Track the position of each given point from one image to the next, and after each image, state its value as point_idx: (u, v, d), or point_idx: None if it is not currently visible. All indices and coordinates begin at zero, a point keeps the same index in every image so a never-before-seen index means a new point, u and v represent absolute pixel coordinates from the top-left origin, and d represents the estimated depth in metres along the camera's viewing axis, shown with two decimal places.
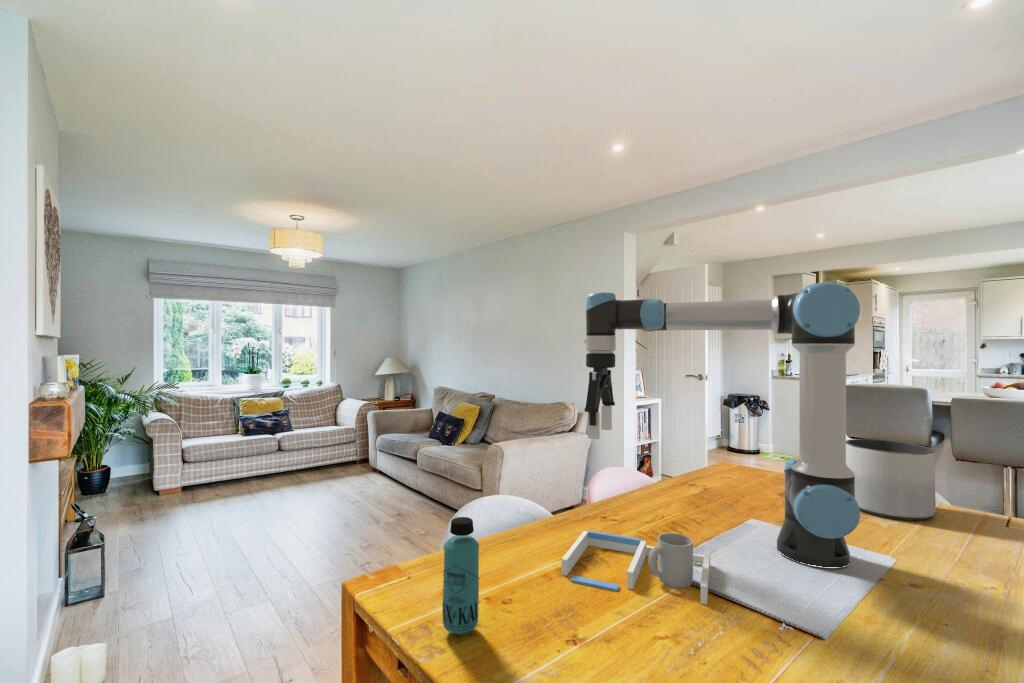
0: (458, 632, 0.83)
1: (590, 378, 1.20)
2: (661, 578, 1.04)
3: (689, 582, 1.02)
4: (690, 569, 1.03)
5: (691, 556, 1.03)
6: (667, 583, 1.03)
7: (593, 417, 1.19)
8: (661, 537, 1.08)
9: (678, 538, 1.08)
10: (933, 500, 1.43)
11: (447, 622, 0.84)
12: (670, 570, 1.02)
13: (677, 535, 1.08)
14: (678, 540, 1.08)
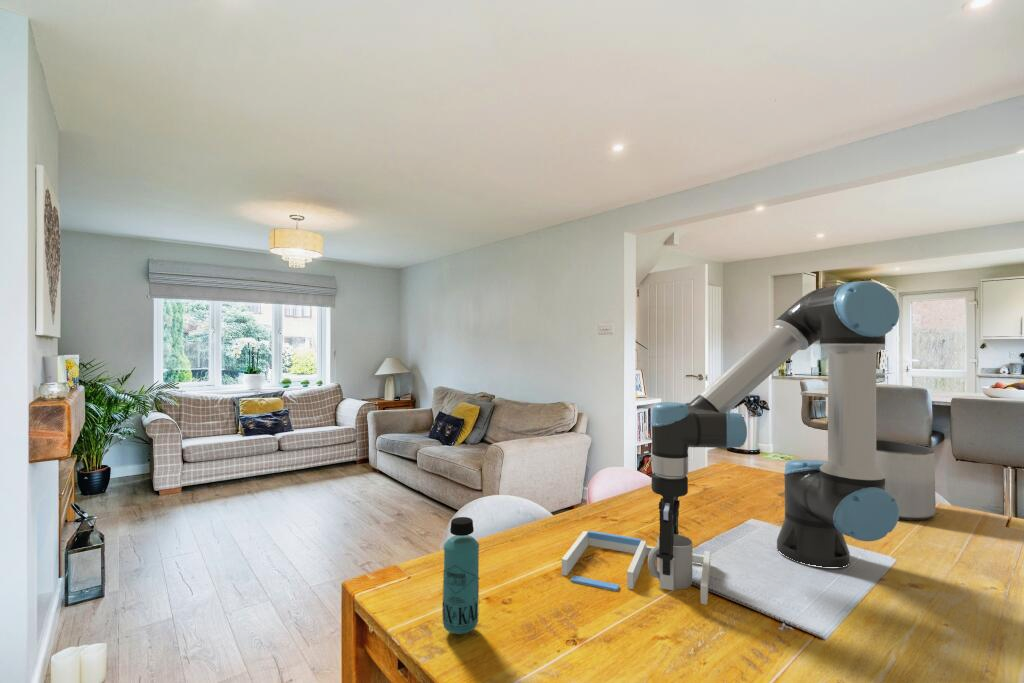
0: (458, 632, 0.83)
1: (661, 518, 1.00)
2: None
3: (689, 583, 1.02)
4: (690, 570, 1.02)
5: (691, 557, 1.03)
6: None
7: (667, 565, 1.00)
8: None
9: (678, 538, 1.08)
10: (933, 500, 1.43)
11: (447, 622, 0.84)
12: None
13: (676, 536, 1.08)
14: (677, 540, 1.08)
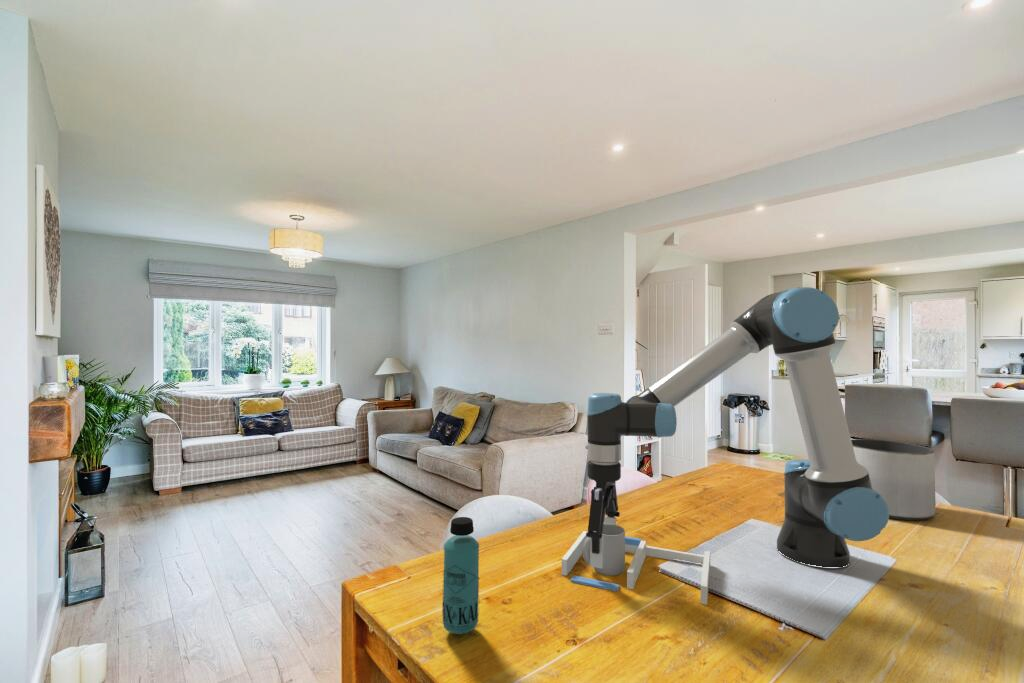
0: (458, 632, 0.83)
1: (592, 497, 1.05)
2: None
3: (620, 570, 1.08)
4: (621, 558, 1.08)
5: (622, 545, 1.08)
6: (599, 571, 1.08)
7: (596, 544, 1.03)
8: None
9: (614, 528, 1.14)
10: (933, 500, 1.43)
11: (447, 622, 0.84)
12: None
13: (612, 526, 1.14)
14: (613, 530, 1.14)
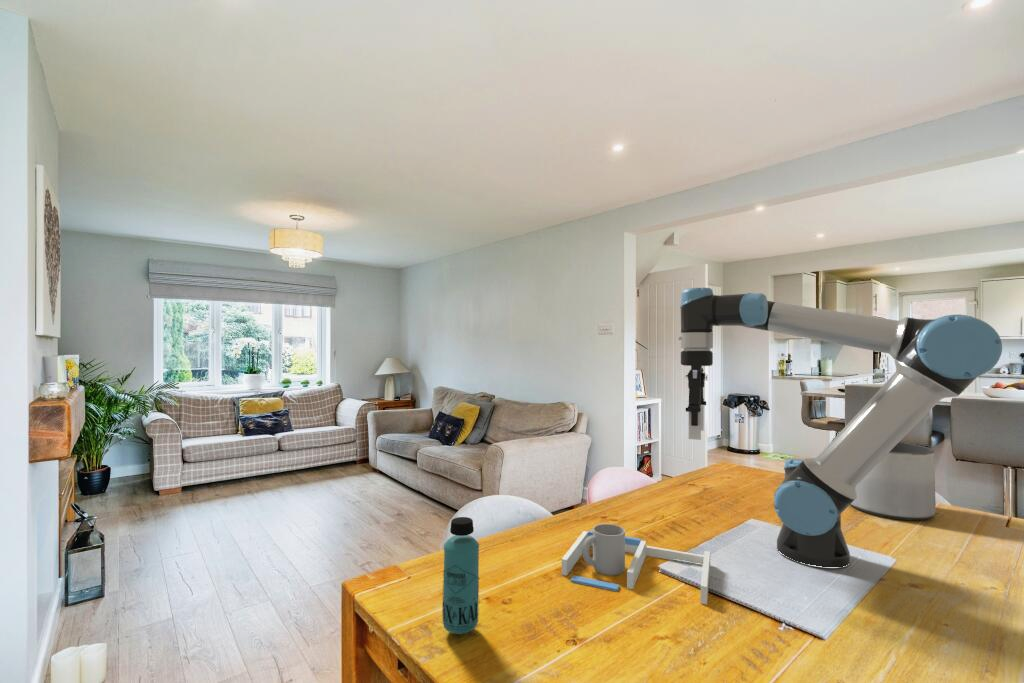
0: (458, 632, 0.83)
1: (691, 376, 1.16)
2: (594, 566, 1.10)
3: (620, 570, 1.08)
4: (621, 558, 1.08)
5: (622, 545, 1.08)
6: (599, 571, 1.08)
7: (695, 417, 1.14)
8: (597, 528, 1.13)
9: (614, 528, 1.14)
10: (933, 500, 1.43)
11: (447, 622, 0.84)
12: (602, 558, 1.08)
13: (612, 526, 1.14)
14: (613, 530, 1.14)
